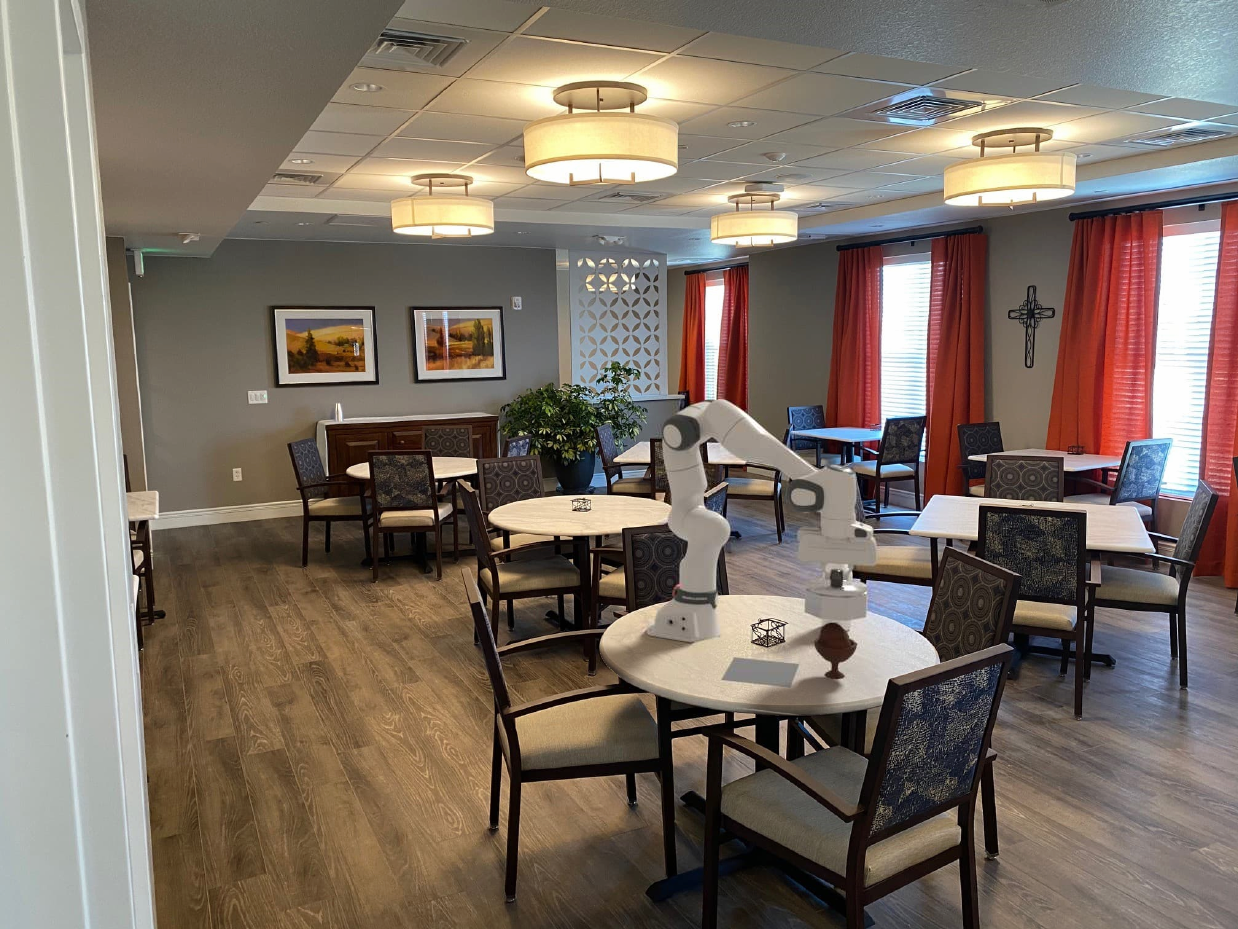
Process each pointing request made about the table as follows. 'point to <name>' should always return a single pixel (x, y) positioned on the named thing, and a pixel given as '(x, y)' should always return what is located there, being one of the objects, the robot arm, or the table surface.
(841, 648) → the ice cream bowl
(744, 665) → the mat
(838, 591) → the cover
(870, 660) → the table surface
